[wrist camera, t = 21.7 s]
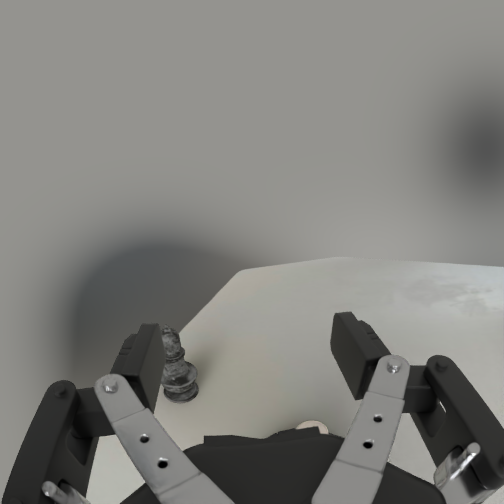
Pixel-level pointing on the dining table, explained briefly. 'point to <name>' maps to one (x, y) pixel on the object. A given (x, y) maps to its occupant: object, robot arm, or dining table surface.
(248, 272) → the dining table surface
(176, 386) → the grey chess piece
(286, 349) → the dining table surface
